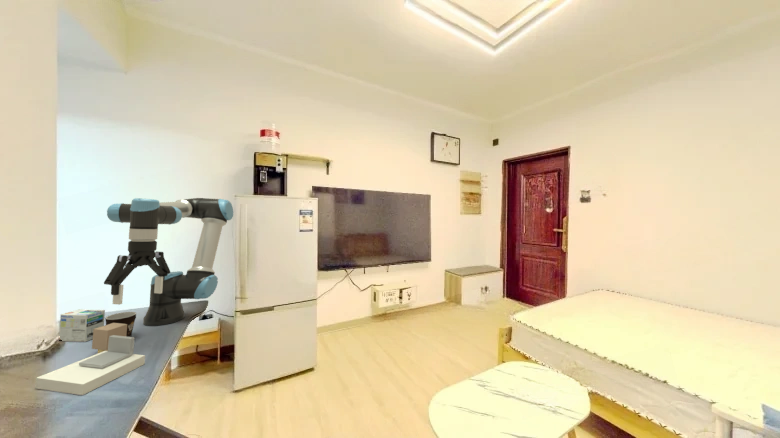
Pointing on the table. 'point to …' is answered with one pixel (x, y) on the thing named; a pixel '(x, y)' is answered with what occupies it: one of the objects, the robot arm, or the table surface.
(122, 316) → the coffee mug
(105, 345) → the plug
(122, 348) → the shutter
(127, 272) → the robot arm
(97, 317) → the light bulb box
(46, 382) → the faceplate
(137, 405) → the table surface
